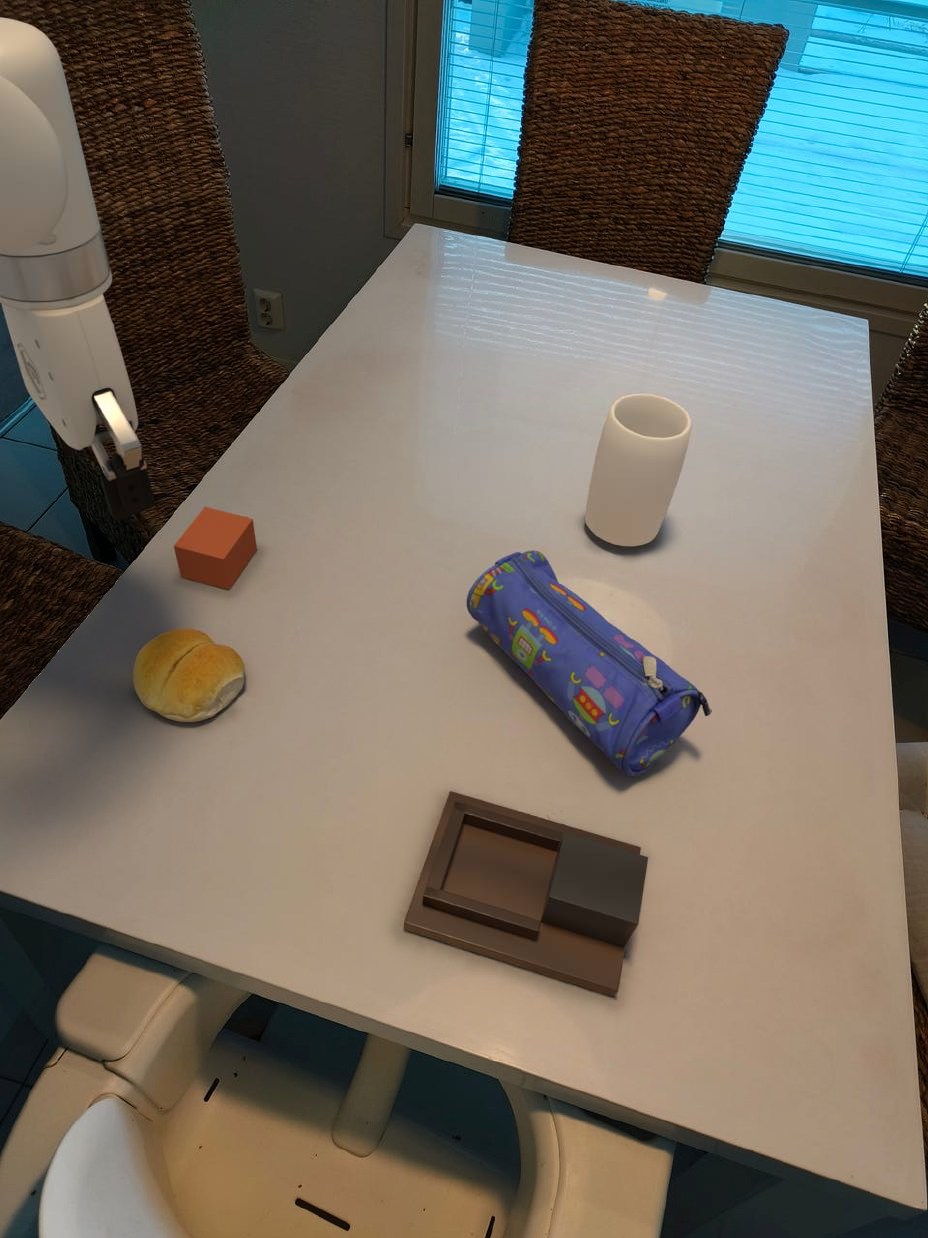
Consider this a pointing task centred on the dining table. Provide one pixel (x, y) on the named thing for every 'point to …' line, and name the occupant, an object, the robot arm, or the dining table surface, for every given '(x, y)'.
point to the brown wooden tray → (530, 892)
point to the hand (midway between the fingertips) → (107, 477)
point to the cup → (636, 468)
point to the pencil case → (584, 662)
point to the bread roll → (187, 675)
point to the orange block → (216, 547)
